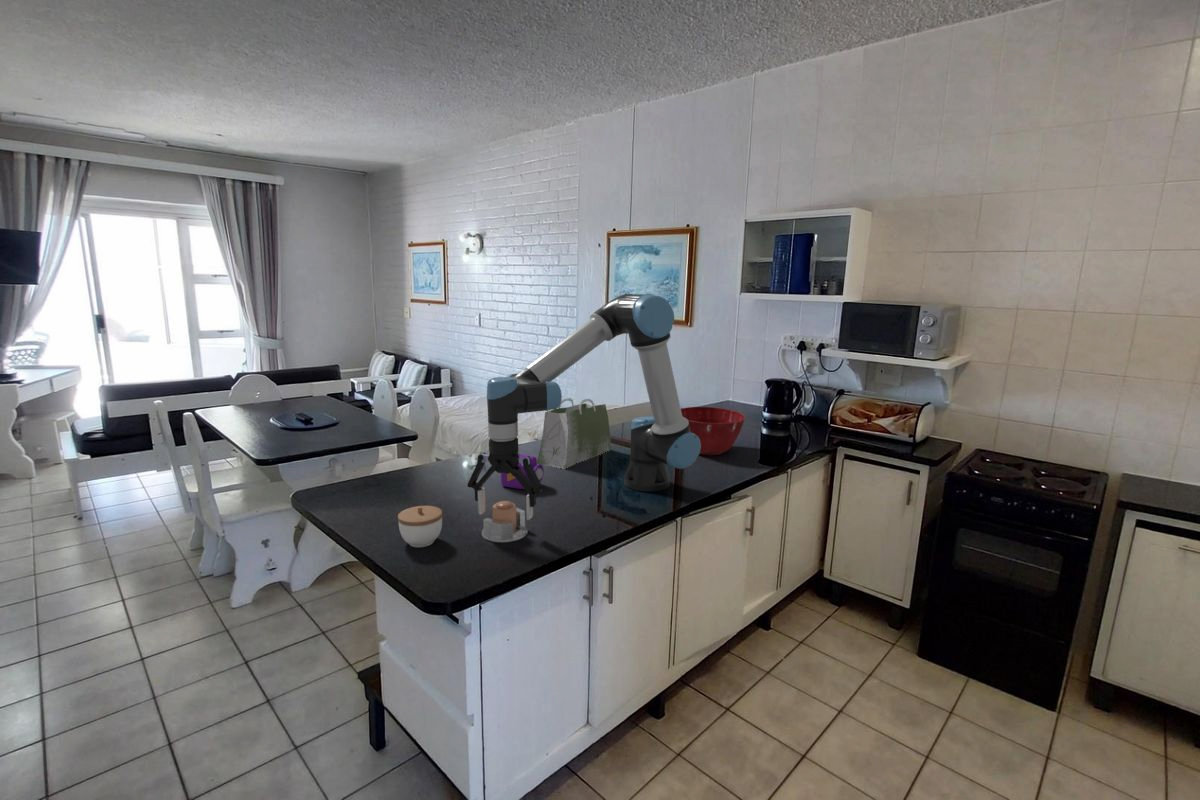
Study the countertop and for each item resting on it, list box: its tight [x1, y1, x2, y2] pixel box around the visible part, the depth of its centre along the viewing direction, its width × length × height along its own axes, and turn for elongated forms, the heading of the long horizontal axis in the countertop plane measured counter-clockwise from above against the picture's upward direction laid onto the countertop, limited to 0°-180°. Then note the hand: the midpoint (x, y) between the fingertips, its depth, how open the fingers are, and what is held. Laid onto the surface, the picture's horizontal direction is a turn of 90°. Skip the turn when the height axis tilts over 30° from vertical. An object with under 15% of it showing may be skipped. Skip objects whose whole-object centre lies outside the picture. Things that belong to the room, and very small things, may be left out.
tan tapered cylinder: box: [492, 500, 517, 534], centre depth 149 cm, size 6×6×8 cm
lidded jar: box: [397, 505, 443, 548], centre depth 143 cm, size 11×11×9 cm
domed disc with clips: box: [481, 507, 528, 544], centre depth 149 cm, size 12×12×5 cm
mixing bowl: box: [681, 406, 746, 456], centre depth 229 cm, size 28×28×15 cm
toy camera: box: [500, 452, 545, 490], centre depth 185 cm, size 11×14×10 cm
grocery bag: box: [537, 397, 612, 470], centre depth 217 cm, size 32×14×23 cm, turn 147°
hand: (505, 515), depth 149 cm, fingers open, 13 cm apart
